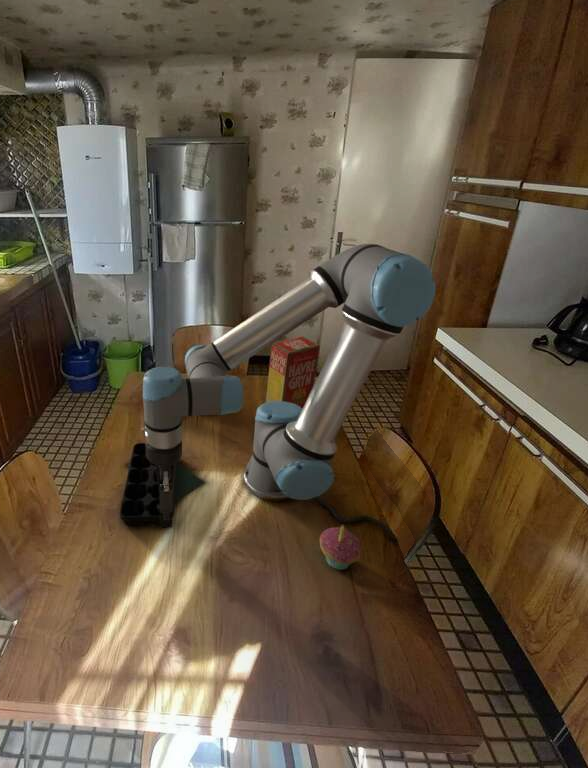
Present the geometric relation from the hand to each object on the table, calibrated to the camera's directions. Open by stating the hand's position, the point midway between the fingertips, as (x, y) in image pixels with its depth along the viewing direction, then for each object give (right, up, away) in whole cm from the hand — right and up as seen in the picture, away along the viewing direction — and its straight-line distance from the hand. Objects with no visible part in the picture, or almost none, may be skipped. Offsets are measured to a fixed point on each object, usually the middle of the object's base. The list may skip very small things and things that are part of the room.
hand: (166, 525), depth 99 cm
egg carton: (-5, +5, +14) cm, 16 cm away
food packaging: (+38, +21, +50) cm, 66 cm away
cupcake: (+37, -5, -6) cm, 38 cm away
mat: (-2, +7, +19) cm, 21 cm away
